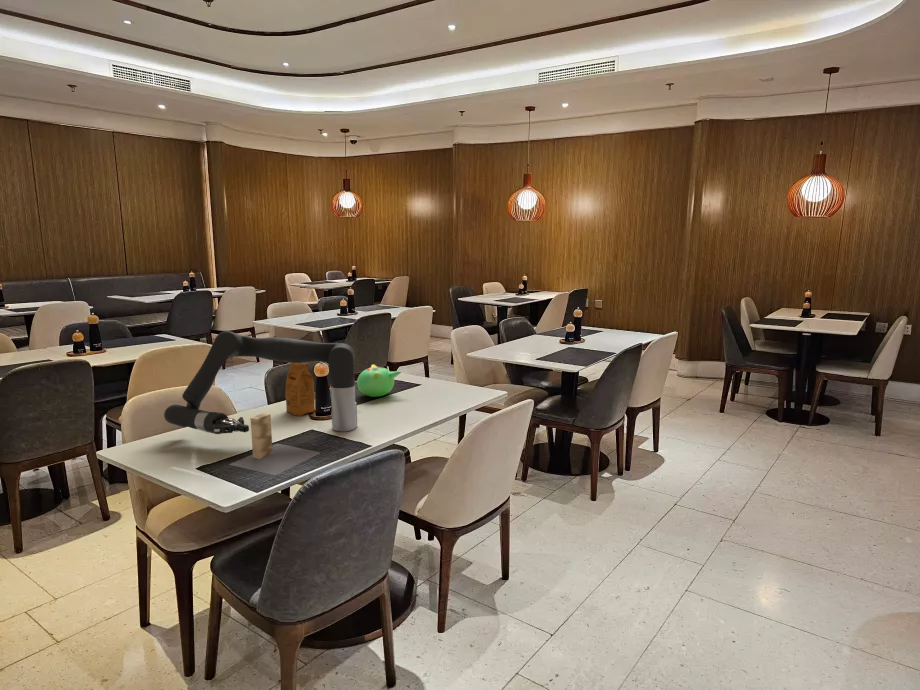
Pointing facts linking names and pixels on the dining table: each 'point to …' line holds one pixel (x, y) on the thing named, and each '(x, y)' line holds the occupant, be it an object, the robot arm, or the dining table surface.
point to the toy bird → (376, 381)
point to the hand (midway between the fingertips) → (247, 428)
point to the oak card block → (261, 435)
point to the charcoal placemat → (276, 460)
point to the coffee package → (299, 390)
